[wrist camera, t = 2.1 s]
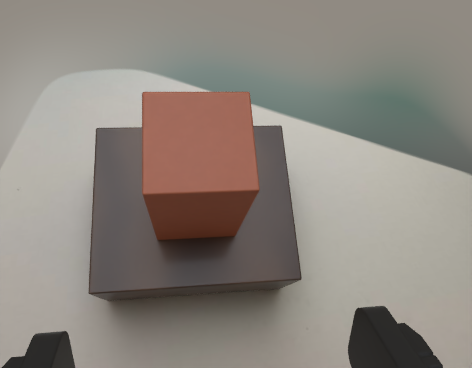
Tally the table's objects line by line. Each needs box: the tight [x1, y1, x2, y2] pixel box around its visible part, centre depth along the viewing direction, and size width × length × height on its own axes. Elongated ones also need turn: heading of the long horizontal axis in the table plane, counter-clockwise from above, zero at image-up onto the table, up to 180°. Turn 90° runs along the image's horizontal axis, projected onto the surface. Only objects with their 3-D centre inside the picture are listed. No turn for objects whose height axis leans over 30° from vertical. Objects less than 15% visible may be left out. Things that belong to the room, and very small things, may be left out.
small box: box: [142, 92, 260, 240], centre depth 22 cm, size 5×5×9 cm
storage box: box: [89, 126, 301, 301], centre depth 29 cm, size 13×11×6 cm
